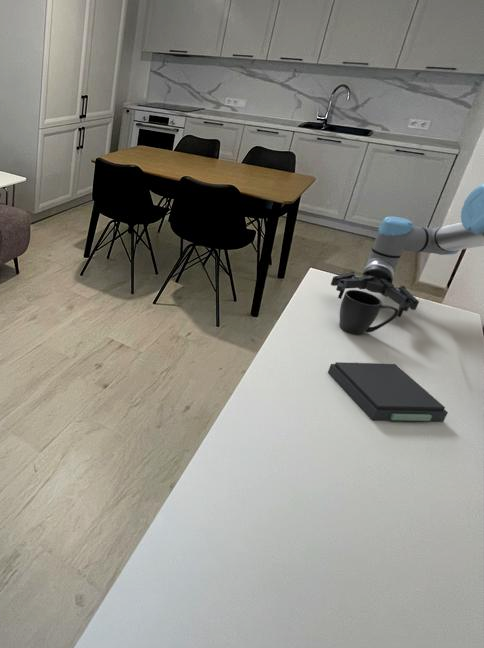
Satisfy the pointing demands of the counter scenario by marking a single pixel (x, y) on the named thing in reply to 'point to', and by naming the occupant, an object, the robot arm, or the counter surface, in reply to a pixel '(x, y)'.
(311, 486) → the counter surface
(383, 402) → the scale
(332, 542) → the counter surface
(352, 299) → the mug
